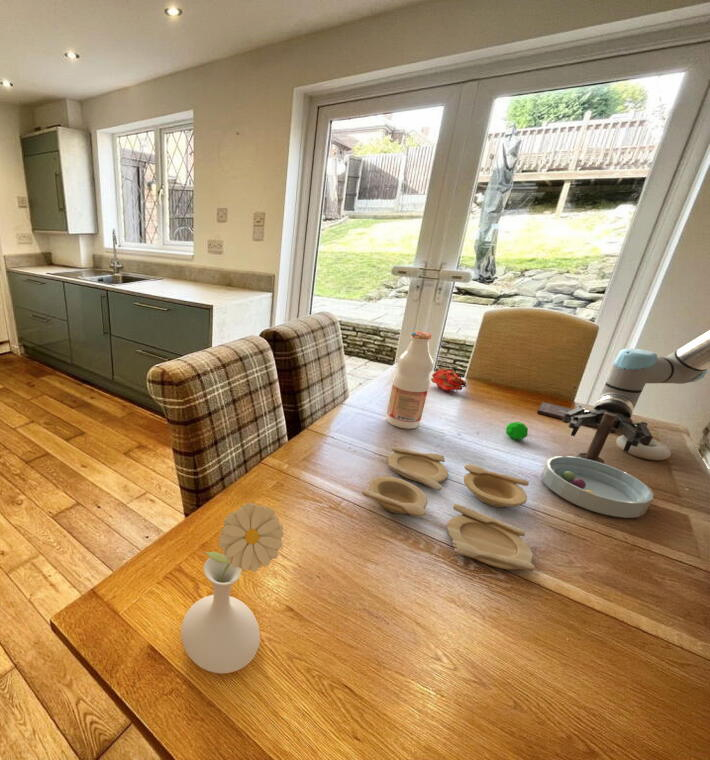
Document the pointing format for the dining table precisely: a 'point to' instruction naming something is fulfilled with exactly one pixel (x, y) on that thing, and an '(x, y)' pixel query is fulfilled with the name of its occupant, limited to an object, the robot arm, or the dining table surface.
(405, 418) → the fruit juice
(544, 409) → the chocolate bar
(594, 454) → the brown wooden peg
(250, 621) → the flower in vase
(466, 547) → the tableware set
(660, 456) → the donut
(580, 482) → the bead
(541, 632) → the dining table surface
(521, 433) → the polyhedron
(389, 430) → the dining table surface
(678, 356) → the robot arm
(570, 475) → the bead
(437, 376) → the dragon fruit
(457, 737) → the dining table surface
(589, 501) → the bowl
